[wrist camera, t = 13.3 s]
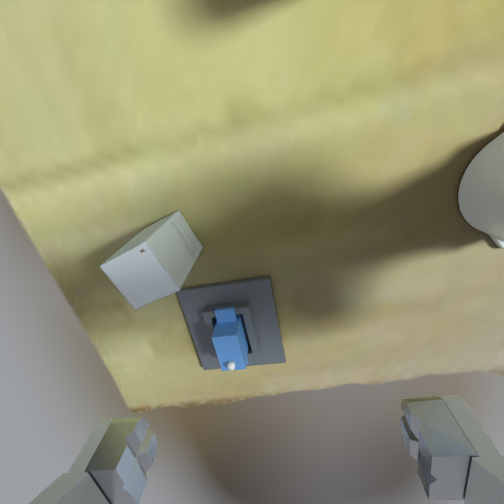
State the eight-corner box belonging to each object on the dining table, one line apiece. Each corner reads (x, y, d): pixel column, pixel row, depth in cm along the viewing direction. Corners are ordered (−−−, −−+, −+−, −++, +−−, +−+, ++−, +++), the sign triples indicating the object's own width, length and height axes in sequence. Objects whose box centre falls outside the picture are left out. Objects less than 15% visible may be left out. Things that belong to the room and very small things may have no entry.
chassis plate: (269, 276, 47) (269, 285, 44) (285, 358, 54) (286, 370, 51) (178, 288, 49) (172, 297, 47) (204, 365, 56) (201, 377, 54)
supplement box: (141, 229, 45) (96, 264, 34) (179, 208, 43) (145, 239, 32) (167, 266, 48) (133, 311, 36) (204, 248, 46) (181, 290, 34)
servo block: (237, 299, 48) (232, 326, 42) (251, 353, 53) (248, 385, 46) (214, 302, 49) (205, 329, 42) (230, 355, 53) (224, 386, 47)
